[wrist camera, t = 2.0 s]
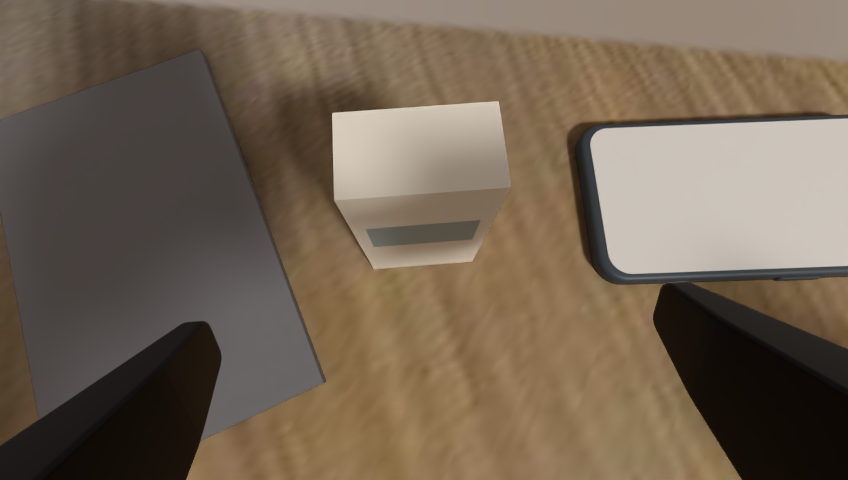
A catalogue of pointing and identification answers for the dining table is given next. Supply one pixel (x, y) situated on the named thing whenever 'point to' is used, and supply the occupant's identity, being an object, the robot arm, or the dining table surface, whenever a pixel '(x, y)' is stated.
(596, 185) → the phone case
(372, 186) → the box
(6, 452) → the robot arm
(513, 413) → the dining table surface
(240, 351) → the placemat
